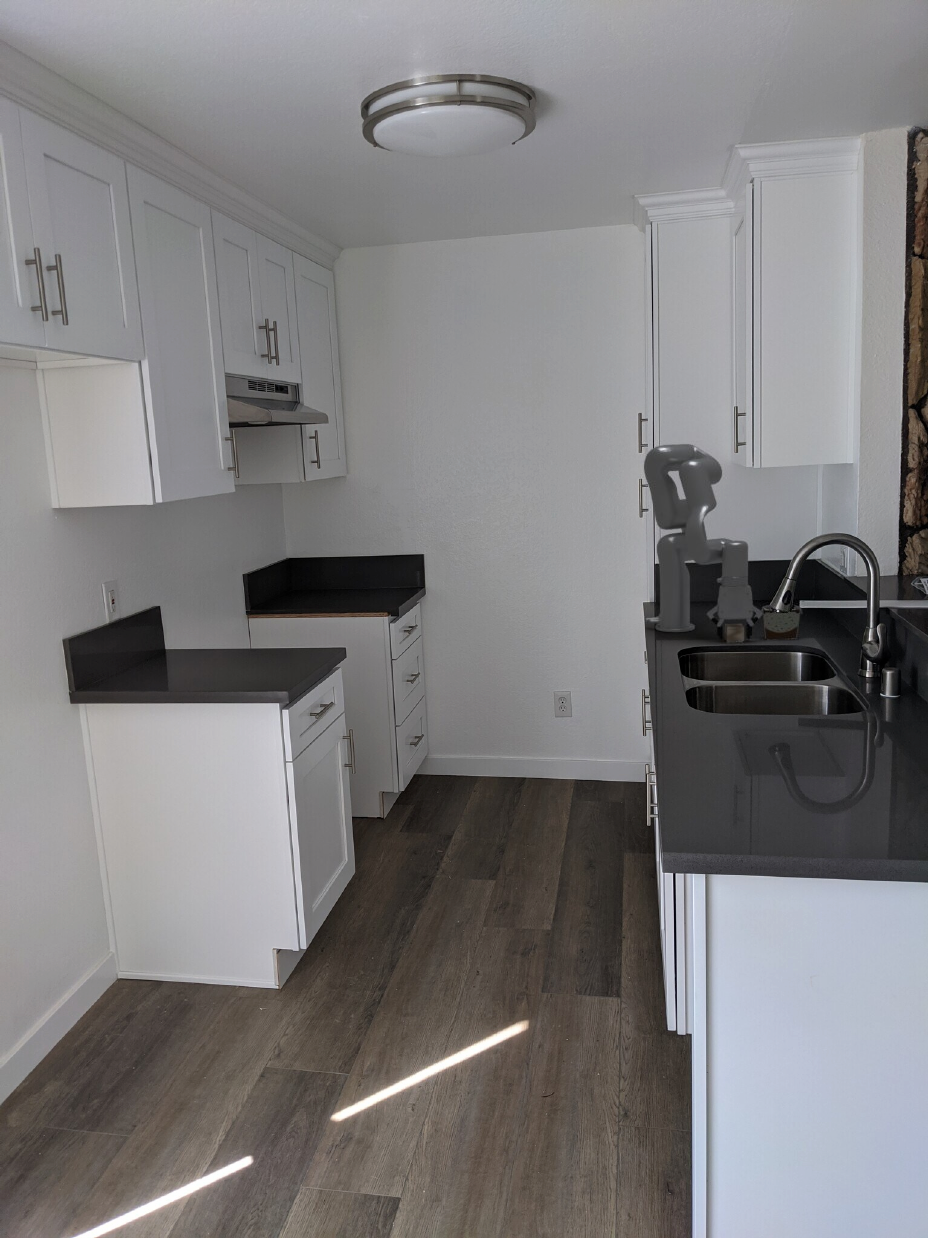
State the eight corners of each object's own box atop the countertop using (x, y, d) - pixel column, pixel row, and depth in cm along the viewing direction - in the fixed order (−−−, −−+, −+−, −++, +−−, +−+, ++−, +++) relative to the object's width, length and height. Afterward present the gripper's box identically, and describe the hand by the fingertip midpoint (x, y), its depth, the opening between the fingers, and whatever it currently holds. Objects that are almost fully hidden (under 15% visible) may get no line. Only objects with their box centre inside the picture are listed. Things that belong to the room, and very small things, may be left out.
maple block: (727, 643, 285) (727, 627, 284) (724, 639, 290) (724, 624, 289) (743, 643, 284) (744, 627, 283) (741, 639, 289) (741, 623, 288)
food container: (796, 635, 291) (797, 603, 289) (801, 639, 285) (802, 607, 283) (756, 636, 293) (756, 604, 291) (760, 640, 287) (760, 608, 285)
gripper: (707, 584, 281) (706, 641, 284) (766, 582, 279) (766, 640, 282) (704, 580, 288) (703, 636, 292) (762, 579, 286) (761, 635, 289)
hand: (734, 638), depth 287 cm, fingers open, 7 cm apart
